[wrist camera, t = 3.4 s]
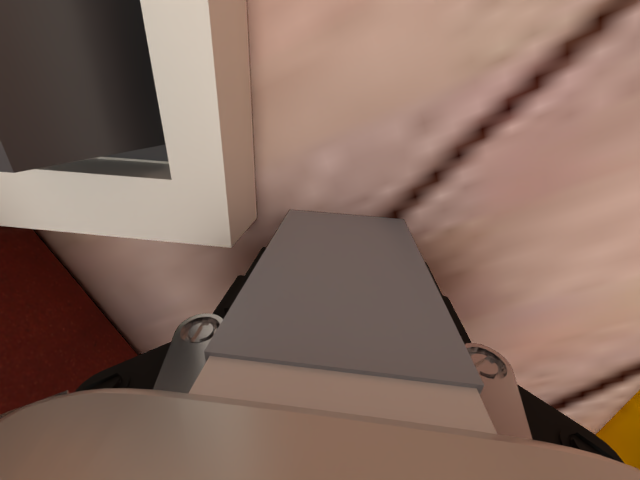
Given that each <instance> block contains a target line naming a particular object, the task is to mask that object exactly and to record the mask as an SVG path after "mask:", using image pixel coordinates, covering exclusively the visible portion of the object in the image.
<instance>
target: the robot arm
mask: <svg viewBox="0 0 640 480" xmlns="http://www.w3.org/2000/svg"><path fill="white" fill-rule="evenodd" d="M266 248H267V247H263V248H262V249H261V251H260V253H259V254H258V256H257V257H256V259H255V260H254V262H253V264H252V265H251V267H250V268H249V270H248V271H247V273H246V275H245V276H243V275H240V276H238V277H237V278H236V280H235V281H234V283H233V284H232V286H231V287H230V289H229V290H228V292H227V293H226V295H225V296H224V298H223V299H222V300H221V302H220V303H219V305H218V306H217V308H216V309H215V311H214V312H213V314H199V315H196V316H193V317H190V318H188V319H187V320H185V321H183V322H182V323H181V324H180V325H179V326H178V328H177V329H176V331H175V334H174V336H173V339H172V341H171V342H170V343H167V344H165V345H162V346H160V347H158V348H155V349H153V350H150V351H148V352H146V353H143V354H141V355H138V356H136V357H134V358H131V359H129V360H126V361H124V362H122V363H119V364H117V365H114V366H112V367H110V368H107V369H105V370H102V371H100V372H98V373H97V374H95V375H93V376H91V377H90V378H88V379H87V380H86V381H84V382H83V383H82V384H81V385H80V386H79V387H78V388H77V389H76V391H75V392H73V393H69V392H68V390H66V391H64V392H61V393H58V394H55V395H52V396H50V397H47V398H44V399H41V400H39V401H36V402H33V403H30V404H28V405H25V406H22V407H19V408H17V409H14V410H11V411H8V412H6V413H3V414H0V480H640V470H639V469H638V468H636V467H632V466H630V465H627V464H625V463H624V462H623V461H622V459H621V458H620V457H619V456H618V454H617V453H616V452H615V451H614V450H613V449H612V448H611V447H610V446H609V445H608V444H607V443H606V442H604V441H603V440H602V439H600V438H599V437H597V436H596V435H595V434H593V433H592V432H590V431H589V430H587V429H586V428H584V427H582V426H581V425H579V424H578V423H576V422H575V421H573V420H572V419H570V418H568V417H567V416H565V415H564V414H562V413H561V412H559V411H558V410H556V409H554V408H553V407H551V406H550V405H548V404H547V403H545V402H544V401H542V400H541V399H539V398H537V397H536V396H534V395H533V394H531V393H530V392H528V391H527V390H525V389H523V388H522V387H520V386H519V385H517V382H516V379H515V375H514V372H513V369H512V367H511V365H510V364H509V362H508V361H507V360H506V359H505V358H504V357H503V356H502V355H500V354H499V353H498V352H496V351H495V350H493V349H491V348H489V347H487V346H484V345H482V344H476V343H471V341H470V339H469V337H468V335H467V333H466V331H465V329H464V327H463V325H462V324H461V322H460V320H459V318H458V316H457V314H456V312H455V310H454V308H453V306H452V304H451V302H450V300H449V299H448V297H446V296H442V294H441V292H440V290H439V288H438V286H437V284H436V282H435V279H434V277H433V275H432V273H431V271H430V269H429V267H428V265H427V263H426V262H425V264H426V266H427V268H428V270H429V272H430V274H431V276H432V278H433V281H434V283H435V285H436V287H437V289H438V291H439V293H440V295H441V297H442V299H443V301H444V303H445V305H446V307H447V309H448V311H449V314H450V316H451V318H452V320H453V322H454V324H455V326H456V328H457V330H458V332H459V334H460V336H461V338H462V340H463V342H464V344H465V346H466V349H467V351H468V353H469V355H470V357H471V359H472V361H473V363H474V365H475V367H476V369H477V371H478V373H479V375H480V377H481V379H482V381H483V384H484V387H483V389H482V391H481V394H480V397H481V399H482V401H483V404H484V406H485V408H486V410H487V412H488V415H489V417H490V419H491V421H492V424H493V426H494V428H495V430H496V432H497V434H493V433H486V432H480V431H473V430H466V429H458V428H451V427H444V426H437V425H429V424H422V423H415V422H408V421H400V420H393V419H386V418H378V417H371V416H363V415H356V414H348V413H341V412H333V411H325V410H318V409H310V408H302V407H295V406H287V405H279V404H271V403H263V402H256V401H248V400H240V399H232V398H224V397H216V396H208V395H199V394H190V393H189V391H190V390H191V388H192V386H193V384H194V383H195V381H196V379H197V377H198V376H199V374H200V372H201V370H202V369H203V367H204V365H205V363H206V360H205V355H204V350H205V349H206V347H207V345H208V344H209V342H210V340H211V339H212V337H213V335H214V334H215V332H216V330H217V329H218V327H219V325H220V324H221V322H222V321H223V319H224V317H225V316H226V314H227V312H228V311H229V309H230V307H231V306H232V304H233V302H234V301H235V299H236V297H237V296H238V294H239V292H240V291H241V289H242V287H243V286H244V284H245V283H246V281H247V279H248V278H249V276H250V274H251V273H252V271H253V269H254V268H255V266H256V264H257V263H258V261H259V259H260V258H261V256H262V254H263V253H264V251H265V250H266Z"/></svg>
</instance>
